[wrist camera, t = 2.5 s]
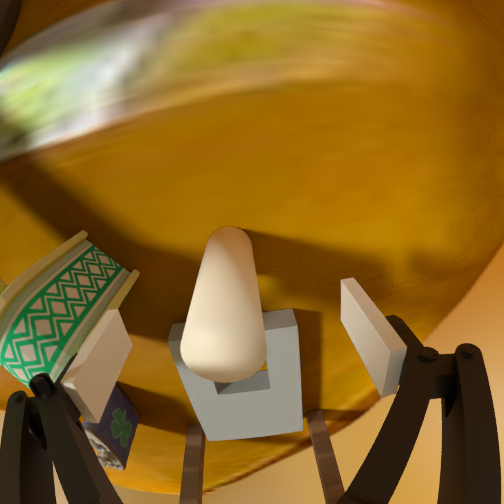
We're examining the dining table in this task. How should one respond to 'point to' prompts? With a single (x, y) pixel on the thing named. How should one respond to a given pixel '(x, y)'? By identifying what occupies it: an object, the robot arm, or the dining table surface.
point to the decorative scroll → (58, 307)
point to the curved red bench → (321, 446)
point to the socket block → (250, 387)
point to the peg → (225, 312)
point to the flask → (114, 430)
